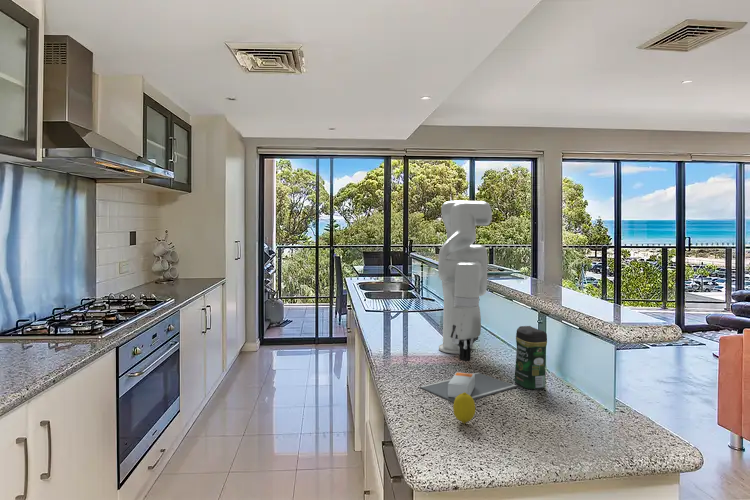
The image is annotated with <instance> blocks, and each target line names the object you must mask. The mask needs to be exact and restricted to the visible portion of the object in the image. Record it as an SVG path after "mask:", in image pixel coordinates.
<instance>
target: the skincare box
mask: <svg viewBox="0 0 750 500" xmlns="http://www.w3.org/2000/svg"><path fill="white" fill-rule="evenodd" d="M450 379H451V380H450V382H449V383H448V397H452V398H456V397H457V396H458V395H460V394H462V393H464V392H465V393H467V394H468V395H471V393H472V391H473V389H474V387H475V374H474V373H467V372H460V371H456V372H455V373H454V375H453V376H452V377H451V378H450Z"/></svg>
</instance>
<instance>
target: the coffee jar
mask: <svg viewBox="0 0 750 500" xmlns="http://www.w3.org/2000/svg"><path fill="white" fill-rule="evenodd" d="M515 333H516V334H515V341H516V343H515V344H516V352H515V353H516V354H515V355H516V356H515V366H514V367H515V368H514V379H513V380H514V382H515V383H516V384H517V385H519V386H521V387H523V388H525V389H527V390H529V389H530V390H534V391H535V390H536V389H537V390H541V389H543V388H545V387H546V348H547V345H548V335H547V332H545V331H544V330H541V329H538V328H536V327H533V326H531V325H523V326H521V325H520V326H519V327H518V328H517V329H516V332H515Z"/></svg>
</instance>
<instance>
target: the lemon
mask: <svg viewBox="0 0 750 500" xmlns="http://www.w3.org/2000/svg"><path fill="white" fill-rule="evenodd" d="M452 407H453V408H452V409H453V415H454V417H455V418H456V420H458V421H460V422H461V423H462V424H466V423H468V422H470V421H471V420H473V418H474V417H475V414H476V402H475V400H473V398H472V397H471V396H470V395H468V394H467V393H465V392H464V393H462V394H460V395H458V396H457V397H456V398H455V401H454V403H453V406H452Z"/></svg>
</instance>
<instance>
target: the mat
mask: <svg viewBox="0 0 750 500" xmlns="http://www.w3.org/2000/svg"><path fill="white" fill-rule="evenodd" d="M473 374H475V387H474V389H473V391H472V393H471V395H470V396H471V397H472V398H473V400H474V401H475V400H478V399H481V398H484V397H488V396H491V395H494V394H498V393H502V392H506V391H508V390H511V389H512V390H513V389H514V388H517V387H518V386H517V385H516V384H513V383H509V382H506V381H504V380H500V379H498V378H495V377H492V376H489V375H486V374H484V373H481V372H474V373H473ZM451 379H452V378H450V379H446V380H441V381H439V382H438V381H437V382H435V383H434V382H433V383H428V384H424V385H421V386H419V389H421V390H424V391H426V392H428V393H431V394H433V395H435V396H438V397H439V398H441V399H442V398H443V399H444V400H447V401H449V402H452V403H453V404H454V401H455V398H452V397H448V383H449V382H450V380H451Z"/></svg>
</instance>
